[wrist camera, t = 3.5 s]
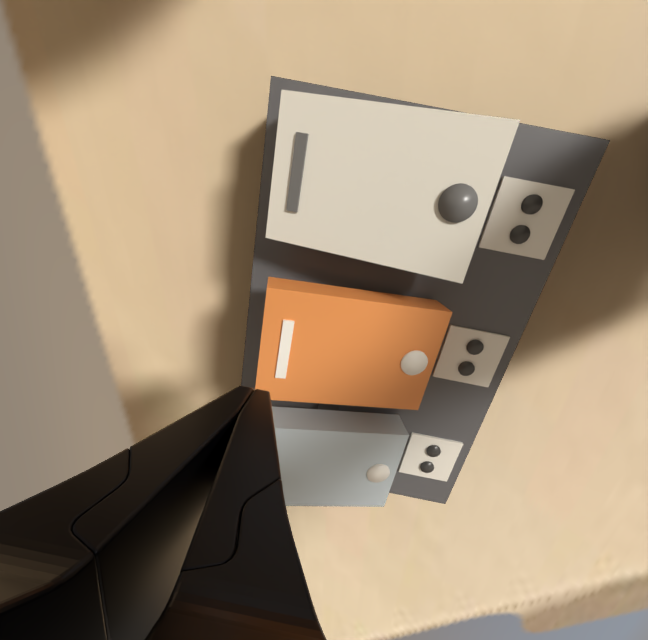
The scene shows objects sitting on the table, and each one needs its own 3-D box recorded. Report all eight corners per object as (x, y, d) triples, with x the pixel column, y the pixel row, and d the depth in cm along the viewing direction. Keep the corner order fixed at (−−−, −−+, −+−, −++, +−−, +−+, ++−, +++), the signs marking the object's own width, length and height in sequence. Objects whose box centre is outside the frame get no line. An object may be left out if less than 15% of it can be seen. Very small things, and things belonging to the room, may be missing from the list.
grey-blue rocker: (398, 414, 16) (409, 436, 14) (376, 482, 17) (384, 508, 16) (253, 405, 14) (250, 428, 13) (244, 479, 16) (241, 507, 15)
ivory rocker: (507, 131, 10) (521, 119, 8) (458, 275, 11) (462, 284, 10) (297, 103, 11) (280, 88, 10) (281, 235, 13) (264, 237, 12)
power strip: (557, 151, 14) (623, 137, 10) (432, 462, 20) (448, 513, 17) (287, 100, 14) (266, 69, 11) (249, 425, 21) (229, 469, 17)
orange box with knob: (436, 300, 13) (453, 313, 12) (406, 390, 15) (419, 411, 14) (268, 276, 12) (266, 288, 11) (256, 378, 14) (253, 400, 12)
